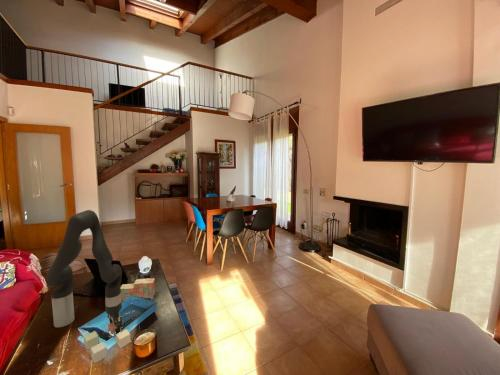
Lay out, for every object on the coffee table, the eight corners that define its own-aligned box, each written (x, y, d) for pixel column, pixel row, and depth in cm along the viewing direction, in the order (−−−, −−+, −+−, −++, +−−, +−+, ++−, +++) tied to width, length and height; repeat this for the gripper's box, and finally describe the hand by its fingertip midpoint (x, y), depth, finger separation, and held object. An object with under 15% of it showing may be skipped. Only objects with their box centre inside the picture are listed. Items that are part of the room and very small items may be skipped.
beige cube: (91, 357, 106) (90, 348, 105) (103, 350, 110) (102, 341, 109) (94, 363, 103) (94, 353, 102) (106, 356, 107) (106, 347, 106)
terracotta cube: (108, 332, 121) (108, 324, 121) (118, 327, 125) (118, 319, 125) (112, 337, 118) (111, 328, 118) (122, 332, 122) (121, 323, 121)
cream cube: (116, 343, 114) (115, 334, 114) (126, 337, 118) (126, 329, 118) (120, 348, 111) (119, 339, 111) (130, 342, 115) (130, 333, 115)
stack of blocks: (119, 302, 148) (118, 285, 146) (123, 296, 154) (122, 280, 153) (153, 299, 151) (152, 282, 150) (155, 294, 158) (154, 277, 156)
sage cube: (84, 345, 113) (83, 336, 112) (95, 339, 117) (95, 330, 116) (87, 350, 110) (86, 341, 109) (99, 344, 114) (98, 335, 113)
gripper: (101, 300, 121) (102, 327, 123) (110, 311, 112) (112, 340, 114) (116, 293, 127) (117, 320, 129) (126, 304, 118) (127, 332, 120)
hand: (115, 329), depth 121 cm, fingers open, 7 cm apart
